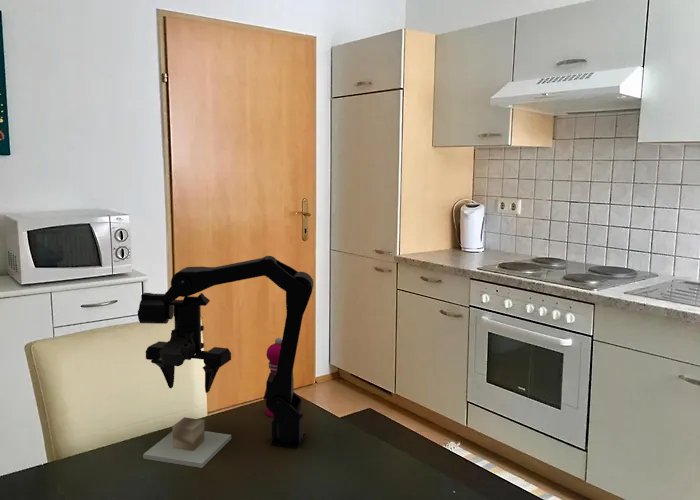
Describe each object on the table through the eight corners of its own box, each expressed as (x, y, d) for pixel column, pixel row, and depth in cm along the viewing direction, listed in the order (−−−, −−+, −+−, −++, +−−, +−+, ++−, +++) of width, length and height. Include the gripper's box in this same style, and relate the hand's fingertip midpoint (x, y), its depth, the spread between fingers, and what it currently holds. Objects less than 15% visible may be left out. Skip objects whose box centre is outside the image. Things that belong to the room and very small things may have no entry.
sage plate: (231, 438, 139) (231, 434, 139) (202, 467, 126) (201, 463, 126) (177, 431, 143) (177, 427, 143) (143, 458, 129) (143, 454, 129)
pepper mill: (287, 420, 150) (287, 343, 147) (260, 417, 152) (259, 340, 149) (295, 408, 157) (296, 334, 154) (269, 406, 159) (269, 332, 156)
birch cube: (204, 441, 136) (204, 420, 135) (193, 451, 131) (192, 429, 130) (184, 438, 137) (184, 417, 136) (172, 447, 132) (172, 426, 132)
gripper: (129, 329, 129) (132, 398, 131) (208, 337, 125) (209, 408, 127) (158, 317, 140) (160, 381, 142) (231, 323, 135) (232, 389, 138)
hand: (189, 390), depth 137 cm, fingers open, 9 cm apart
